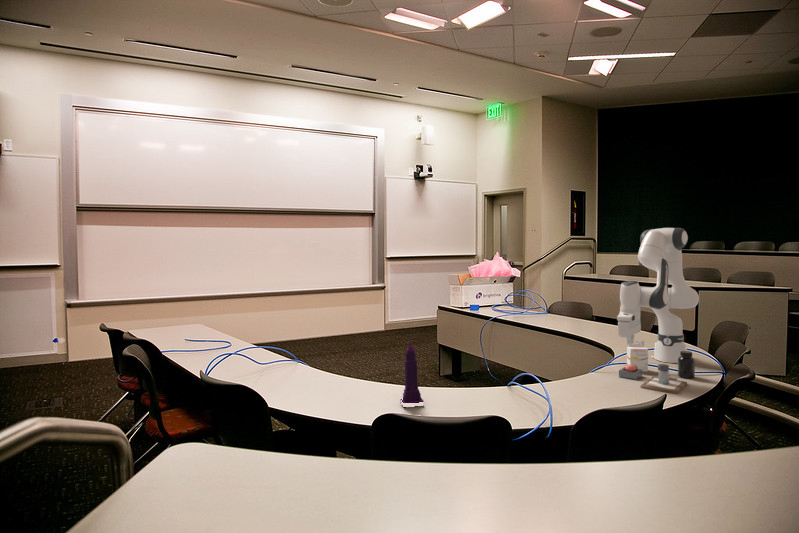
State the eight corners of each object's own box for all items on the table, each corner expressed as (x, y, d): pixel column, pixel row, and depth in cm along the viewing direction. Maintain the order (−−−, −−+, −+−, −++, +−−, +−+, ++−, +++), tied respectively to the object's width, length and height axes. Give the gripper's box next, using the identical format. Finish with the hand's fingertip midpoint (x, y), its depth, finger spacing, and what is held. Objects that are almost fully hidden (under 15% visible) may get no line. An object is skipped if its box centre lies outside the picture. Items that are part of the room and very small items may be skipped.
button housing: (624, 373, 232) (624, 366, 232) (642, 376, 226) (642, 369, 226) (618, 377, 226) (618, 370, 226) (636, 380, 220) (636, 373, 220)
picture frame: (653, 378, 222) (653, 374, 222) (687, 384, 212) (687, 379, 212) (640, 387, 209) (640, 383, 209) (676, 394, 199) (676, 389, 199)
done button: (627, 370, 229) (627, 364, 229) (637, 371, 226) (637, 365, 226) (624, 372, 226) (624, 366, 226) (633, 373, 223) (633, 367, 223)
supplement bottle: (688, 374, 226) (688, 349, 226) (698, 378, 220) (698, 353, 219) (674, 375, 226) (674, 350, 226) (683, 379, 219) (683, 353, 219)
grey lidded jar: (660, 381, 213) (659, 363, 213) (670, 382, 210) (670, 365, 210) (657, 383, 211) (656, 365, 210) (667, 385, 208) (666, 367, 207)
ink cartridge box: (630, 371, 234) (630, 342, 233) (626, 369, 239) (626, 340, 238) (648, 371, 233) (648, 342, 232) (644, 369, 238) (644, 340, 237)
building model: (403, 408, 192) (400, 335, 191) (400, 403, 199) (398, 332, 197) (424, 406, 194) (421, 334, 192) (420, 401, 200) (418, 331, 199)
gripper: (630, 312, 234) (630, 339, 235) (615, 317, 220) (615, 346, 220) (644, 313, 230) (644, 341, 230) (629, 318, 215) (630, 348, 216)
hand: (630, 343), depth 225 cm, fingers closed
